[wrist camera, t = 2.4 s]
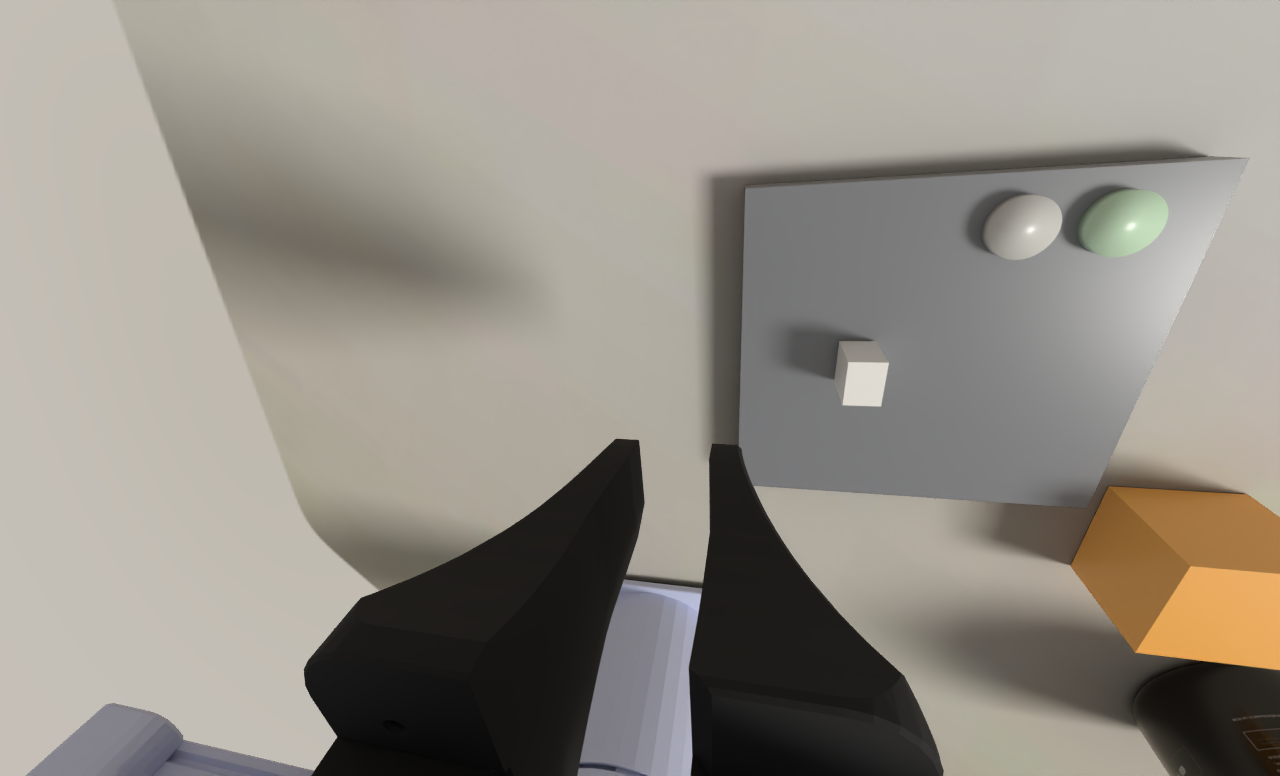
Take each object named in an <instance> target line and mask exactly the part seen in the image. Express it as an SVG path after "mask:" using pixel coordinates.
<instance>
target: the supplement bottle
mask: <svg viewBox="0 0 1280 776" xmlns="http://www.w3.org/2000/svg"><path fill="white" fill-rule="evenodd" d="M1133 715H1134V719H1135V721H1136V724H1137V725H1138V727H1139V729H1140V730H1141V732H1142V734H1143V735H1144V737H1145V738H1146V740H1147V741H1148V743H1149V744H1150V746H1151V748H1152V749H1153V751H1154V752H1155V754H1156V755H1157V757H1158V759H1159V760H1160V762H1161V763H1162V765H1163V766H1164V768H1165V769H1166V771H1167V772H1168V774H1169V775H1170V776H1280V670H1275V669H1266V668H1258V667H1250V666H1242V665H1233V664H1225V663H1217V662H1208V663H1201V664H1195V665H1190V666H1186V667H1182V668H1179V669H1175V670H1173V671H1170V672H1167V673H1165V674H1163V675H1160V676H1158V677H1156V678H1155V679H1153V680H1151V681H1150V682H1149V683H1147V684H1146V685H1145V686H1144V687H1143V688H1142V689H1141V690H1140V691H1139V692H1138V694H1137V695H1136V697H1135V700H1134V704H1133Z"/></svg>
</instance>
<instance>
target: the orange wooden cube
mask: <svg viewBox="0 0 1280 776" xmlns="http://www.w3.org/2000/svg"><path fill="white" fill-rule="evenodd" d="M1071 567H1072V569H1073V570H1074V571H1075V573H1076V574H1077V575H1078V577H1079V578H1080V579H1081V581H1082V582H1083V583H1084V585H1085V586H1086V587H1087V589H1088V590H1089V591H1090V593H1091V594H1092V595H1093V597H1094V598H1095V599H1096V601H1097V602H1098V604H1099V605H1100V606H1101V608H1102V609H1103V610H1104V612H1105V613H1106V614H1107V616H1108V617H1109V618H1110V620H1111V621H1112V622H1113V624H1114V625H1115V626H1116V628H1117V629H1118V630H1119V632H1120V633H1121V634H1122V636H1123V637H1124V638H1125V640H1126V641H1127V642H1128V644H1129V645H1130V646H1131V648H1132V649H1133V650H1134V652H1135V653H1142V654H1150V655H1159V656H1167V657H1175V658H1184V659H1192V660H1200V661H1208V662H1217V663H1225V664H1233V665H1242V666H1250V667H1258V668H1266V669H1275V670H1280V517H1278V516H1277V515H1276V514H1274V513H1273V512H1272V511H1270V510H1269V509H1267V508H1266V507H1265V506H1263V505H1262V504H1260V503H1259V502H1258V501H1256V500H1255V499H1253V498H1252V497H1251V496H1249V495H1247V494H1230V493H1214V492H1197V491H1180V490H1163V489H1146V488H1129V487H1113V486H1109V487H1108V489H1107V491H1106V493H1105V495H1104V497H1103V499H1102V501H1101V503H1100V505H1099V508H1098V510H1097V512H1096V514H1095V516H1094V518H1093V520H1092V522H1091V524H1090V526H1089V528H1088V531H1087V533H1086V535H1085V537H1084V539H1083V541H1082V543H1081V545H1080V547H1079V549H1078V551H1077V553H1076V556H1075V558H1074V560H1073V562H1072V564H1071Z"/></svg>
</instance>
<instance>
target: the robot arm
mask: <svg viewBox="0 0 1280 776" xmlns="http://www.w3.org/2000/svg"><path fill="white" fill-rule="evenodd" d="M709 482H710V536H709V544H708V552H707V559H706V566H705V573H704V580H703V587H702V588H694V587H686V586H677V585H668V584H660V583H651V582H642V581H634V580H625V579H624V578H625V575H626V572H627V569H628V566H629V563H630V560H631V557H632V554H633V551H634V548H635V545H636V541H637V538H638V534H639V529H640V524H641V519H642V513H643V508H644V503H645V502H644V491H643V480H642V468H641V457H640V446H639V440H628V439H615V440H614V441H613V442H612V443H611V444H610V445H609V446H608V447H607V448H606V449H604V450H603V451H602V452H601V453H600V454H599V455H598V456H597V457H596V458H595V459H594V460H593V461H592V462H591V463H590V464H589V465H588V466H587V467H586V468H584V469H583V470H582V471H581V472H580V473H579V474H578V475H577V476H576V477H575V478H573V479H572V480H571V481H570V482H569V483H568V484H567V485H566V486H564V487H563V488H562V489H561V490H560V491H558V492H557V493H556V494H555V495H553V496H552V497H551V498H550V499H548V500H547V501H546V502H545V503H544V504H542V505H541V506H540V507H538V508H537V509H536V510H534V511H533V512H531V513H530V514H529V515H527V516H526V517H524V518H523V519H521V520H520V521H518V522H517V523H515V524H514V525H512V526H511V527H509V528H508V529H506V530H505V531H503V532H501V533H500V534H498V535H496V536H494V537H493V538H491V539H489V540H487V541H486V542H484V543H482V544H481V545H479V546H477V547H475V548H474V549H472V550H470V551H468V552H466V553H464V554H463V555H461V556H459V557H457V558H455V559H453V560H451V561H449V562H447V563H444V564H442V565H440V566H438V567H436V568H434V569H432V570H429V571H427V572H425V573H423V574H420V575H418V576H416V577H414V578H411V579H409V580H406V581H404V582H401V583H399V584H396V585H393V586H391V587H388V588H386V589H383V590H381V591H378V592H376V593H373V594H371V595H368V596H365V597H362V598H361V599H360V600H359V601H358V602H357V603H356V604H355V606H353V608H352V609H351V610H350V611H349V612H348V614H347V615H346V616H345V617H344V618H343V620H342V621H341V622H340V623H339V625H338V626H337V627H336V628H335V629H334V630H333V632H332V633H331V634H330V635H329V636H328V637H327V639H326V640H325V641H324V642H323V643H322V645H321V646H320V647H319V648H318V649H317V651H316V652H315V653H314V654H313V655H312V656H311V658H310V659H309V660H308V662H307V664H306V666H305V668H304V677H305V686H306V688H307V690H308V692H309V694H310V696H311V698H312V699H313V701H314V702H315V704H316V705H317V707H318V708H319V710H320V711H321V713H322V714H323V716H324V717H325V719H326V720H327V722H328V723H329V725H330V726H331V728H332V729H333V731H334V732H335V733H336V735H337V739H336V740H335V742H334V743H333V745H332V746H331V747H330V749H329V750H328V752H327V753H326V755H325V756H324V758H323V759H322V760H321V762H320V764H319V765H318V766H317V768H316V769H315V771H313V770H308V769H304V768H300V767H296V766H292V765H287V764H283V763H279V762H275V761H270V760H266V759H262V758H258V757H254V756H249V755H245V754H240V753H237V752H232V751H228V750H224V749H219V748H215V747H211V746H207V745H202V744H199V743H194V742H190V741H186V740H183V735H182V734H181V732H180V731H179V730H178V729H177V728H176V727H175V726H174V724H172V723H171V722H170V721H169V720H168V719H166V718H164V717H162V716H161V715H159V714H156V713H153V712H150V711H145V710H141V709H137V708H133V707H128V706H124V705H119V704H114V703H112V704H107V705H105V706H104V707H103V708H102V709H100V710H99V711H98V712H97V713H96V714H95V715H94V716H92V717H91V718H90V719H89V720H88V721H87V722H86V723H85V724H84V725H82V726H81V727H80V728H79V729H78V730H77V731H76V732H75V733H73V734H72V735H71V736H70V737H69V738H68V739H67V740H65V741H64V742H63V743H62V744H61V745H60V746H59V747H57V748H56V749H55V750H54V751H53V752H52V753H51V754H50V755H48V756H47V757H46V758H45V759H44V760H43V761H42V762H41V763H39V764H38V765H37V766H36V767H35V768H34V769H33V770H32V771H30V773H28V774H27V775H26V776H943V772H944V770H943V767H942V765H941V761H940V757H939V753H938V750H937V747H936V744H935V741H934V739H933V736H932V734H931V732H930V729H929V727H928V724H927V722H926V720H925V717H924V715H923V713H922V711H921V709H920V706H919V704H918V702H917V700H916V698H915V696H914V694H913V692H912V690H911V688H910V686H909V684H908V682H907V681H906V679H905V677H904V675H902V674H901V673H900V672H899V671H898V670H897V669H896V668H895V667H894V666H893V665H892V664H890V663H889V662H888V661H887V660H886V659H885V658H884V657H883V656H882V655H881V654H880V653H878V652H877V651H876V650H875V649H874V648H873V647H872V646H871V645H870V644H869V643H868V642H867V641H866V640H865V639H864V638H863V637H862V636H861V635H860V634H859V633H858V632H857V631H856V630H855V629H854V628H853V627H852V626H851V625H850V624H849V623H848V622H847V621H846V620H845V619H844V618H843V617H842V616H841V615H840V614H839V612H838V611H837V610H836V609H835V608H834V607H833V605H832V604H831V603H830V602H829V601H828V600H827V598H826V597H825V596H824V595H823V594H822V593H821V591H820V590H819V589H818V588H817V587H816V586H815V584H814V583H813V582H812V581H811V580H810V578H809V577H808V576H807V575H806V573H805V572H804V571H803V569H802V568H801V567H800V565H799V564H798V563H797V561H796V560H795V558H794V557H793V556H792V554H791V553H790V551H789V550H788V548H787V547H786V545H785V544H784V542H783V541H782V539H781V538H780V536H779V534H778V533H777V531H776V530H775V528H774V526H773V524H772V523H771V521H770V519H769V517H768V516H767V514H766V512H765V510H764V508H763V506H762V504H761V502H760V500H759V498H758V496H757V494H756V491H755V489H754V487H753V485H752V482H751V480H750V478H749V475H748V472H747V469H746V466H745V463H744V459H743V455H742V449H741V448H740V447H739V446H738V445H726V444H712V448H711V453H710V458H709Z"/></svg>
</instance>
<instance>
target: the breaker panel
mask: <svg viewBox="0 0 1280 776" xmlns="http://www.w3.org/2000/svg"><path fill="white" fill-rule="evenodd" d="M1249 159H1250V158H1235V157H1214V156H1210V157H1193V158H1177V159H1161V160H1145V161H1129V162H1113V163H1096V164H1080V165H1064V166H1048V167H1032V168H1016V169H1000V170H983V171H967V172H951V173H935V174H919V175H903V176H887V177H870V178H854V179H838V180H822V181H806V182H790V183H774V184H757V185H745V215H744V254H743V294H742V333H741V372H740V411H739V447H740V448H741V449H742V455H743V459H744V463H745V466H746V469H747V472H748V475H749V478H750V480H751V482H752V485H753V486H766V487H781V488H796V489H810V490H825V491H840V492H854V493H869V494H883V495H898V496H913V497H927V498H942V499H957V500H971V501H986V502H1001V503H1015V504H1030V505H1045V506H1059V507H1074V508H1087V507H1088V505H1089V503H1090V501H1091V499H1092V497H1093V494H1094V492H1095V490H1096V488H1097V486H1098V484H1099V481H1100V479H1101V477H1102V475H1103V473H1104V471H1105V469H1106V466H1107V464H1108V462H1109V460H1110V458H1111V456H1112V454H1113V451H1114V449H1115V447H1116V445H1117V443H1118V441H1119V438H1120V436H1121V434H1122V432H1123V430H1124V428H1125V426H1126V423H1127V421H1128V419H1129V417H1130V415H1131V413H1132V410H1133V408H1134V406H1135V404H1136V402H1137V400H1138V398H1139V395H1140V393H1141V391H1142V389H1143V387H1144V385H1145V383H1146V380H1147V378H1148V376H1149V374H1150V372H1151V370H1152V367H1153V365H1154V363H1155V361H1156V359H1157V357H1158V355H1159V352H1160V350H1161V348H1162V346H1163V344H1164V342H1165V339H1166V337H1167V335H1168V333H1169V331H1170V329H1171V327H1172V324H1173V322H1174V320H1175V318H1176V316H1177V314H1178V312H1179V309H1180V307H1181V305H1182V303H1183V301H1184V299H1185V296H1186V294H1187V292H1188V290H1189V288H1190V286H1191V284H1192V281H1193V279H1194V277H1195V275H1196V273H1197V271H1198V268H1199V266H1200V264H1201V262H1202V260H1203V258H1204V256H1205V253H1206V251H1207V249H1208V247H1209V245H1210V243H1211V241H1212V238H1213V236H1214V234H1215V232H1216V230H1217V228H1218V225H1219V223H1220V221H1221V219H1222V217H1223V215H1224V213H1225V210H1226V208H1227V206H1228V204H1229V202H1230V200H1231V197H1232V195H1233V193H1234V191H1235V189H1236V187H1237V185H1238V182H1239V180H1240V178H1241V176H1242V174H1243V172H1244V170H1245V167H1246V165H1247V163H1248V161H1249ZM839 341H876V342H877V344H878V346H879V347H880V349H881V351H882V352H883V354H884V355H885V357H886V359H887V360H888V362H889V365H888V371H887V376H886V382H885V387H884V393H883V398H882V404H881V407H879V406H848V405H842V403H841V400H840V397H839V394H838V391H837V388H836V385H835V382H834V378H835V370H836V362H837V355H838V347H839Z"/></svg>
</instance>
